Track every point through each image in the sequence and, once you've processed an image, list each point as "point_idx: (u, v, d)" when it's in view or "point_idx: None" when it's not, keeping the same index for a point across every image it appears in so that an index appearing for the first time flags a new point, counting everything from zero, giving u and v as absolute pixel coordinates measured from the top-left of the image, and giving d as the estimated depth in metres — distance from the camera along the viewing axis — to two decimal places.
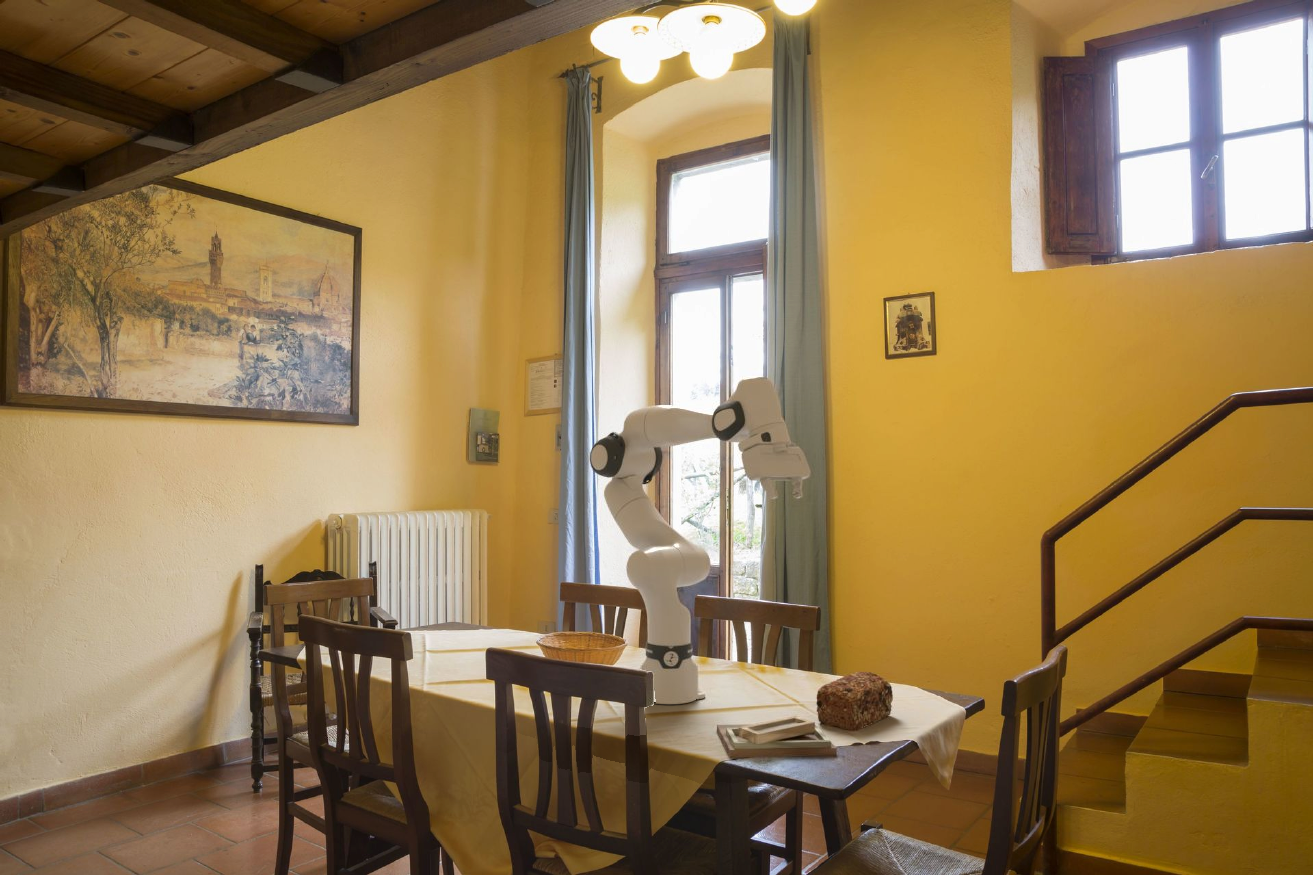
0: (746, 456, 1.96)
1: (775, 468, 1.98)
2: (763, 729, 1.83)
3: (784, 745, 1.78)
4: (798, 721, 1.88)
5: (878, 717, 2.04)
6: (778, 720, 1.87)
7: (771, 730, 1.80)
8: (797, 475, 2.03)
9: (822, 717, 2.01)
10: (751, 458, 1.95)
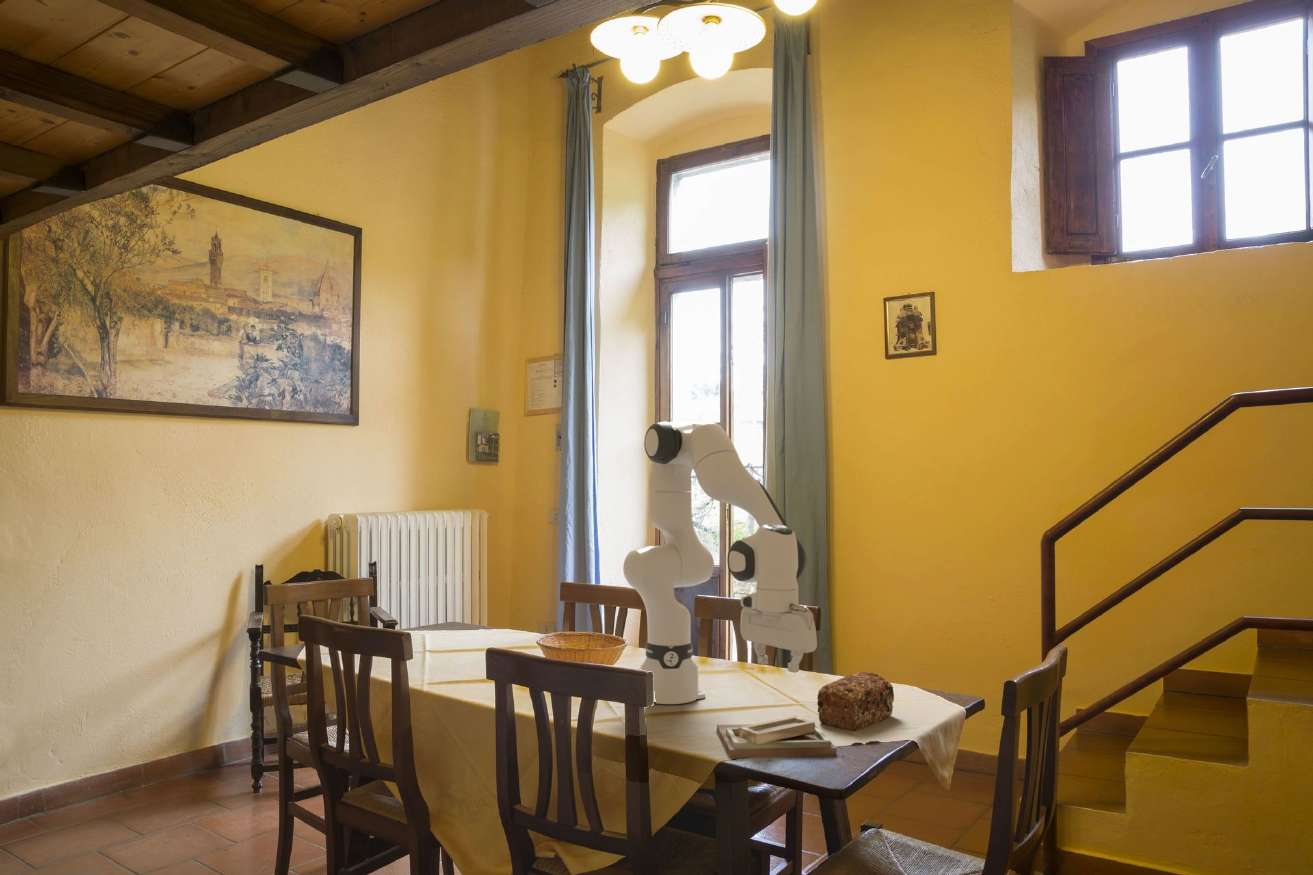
0: None
1: (760, 635, 1.86)
2: (763, 729, 1.83)
3: (784, 745, 1.78)
4: (798, 721, 1.88)
5: (879, 718, 2.04)
6: (778, 720, 1.87)
7: (771, 730, 1.80)
8: (785, 648, 1.80)
9: (823, 717, 2.01)
10: None
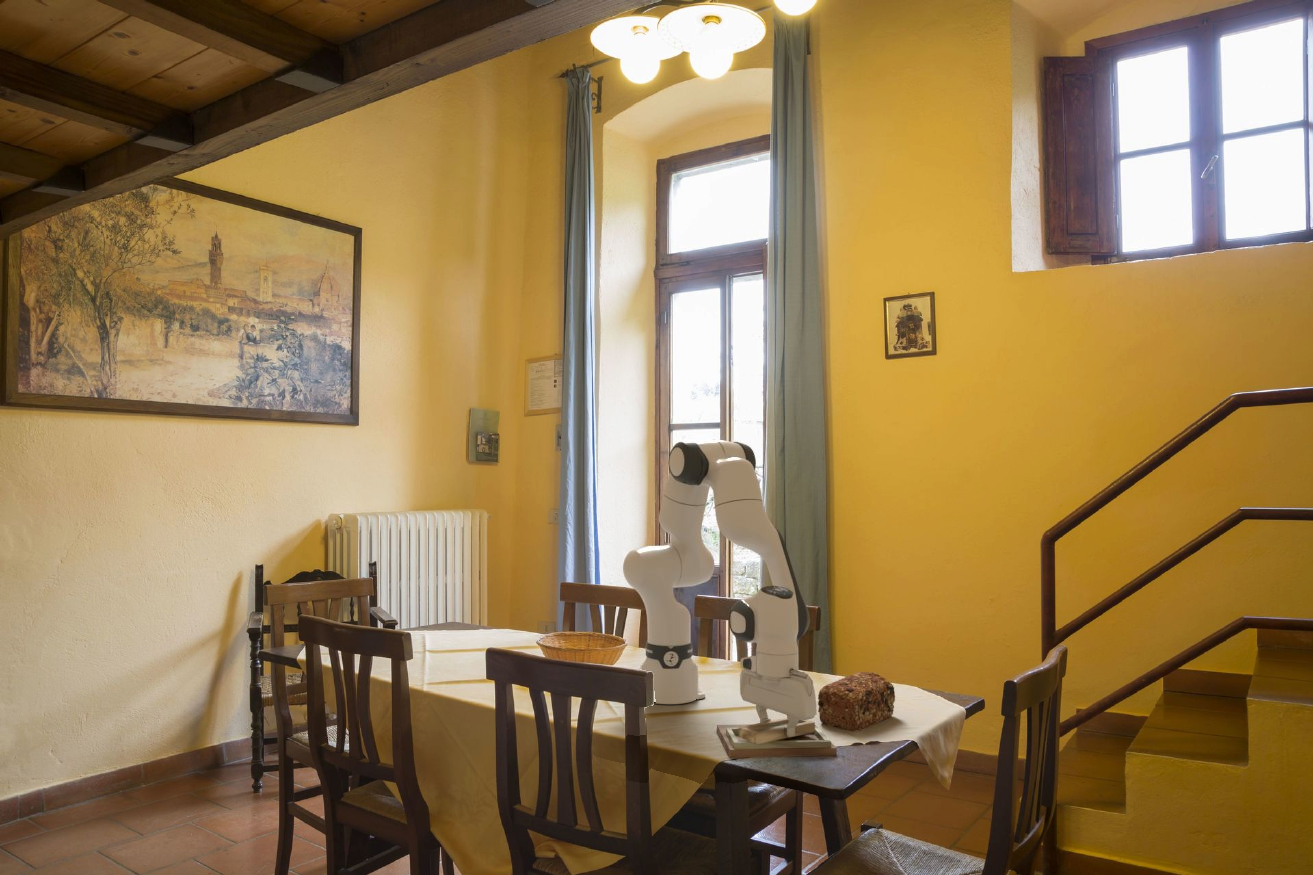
0: None
1: (759, 698, 1.86)
2: (763, 729, 1.83)
3: (784, 745, 1.78)
4: (798, 721, 1.88)
5: (880, 718, 2.04)
6: (778, 720, 1.87)
7: (771, 730, 1.80)
8: (785, 713, 1.79)
9: (823, 717, 2.01)
10: None
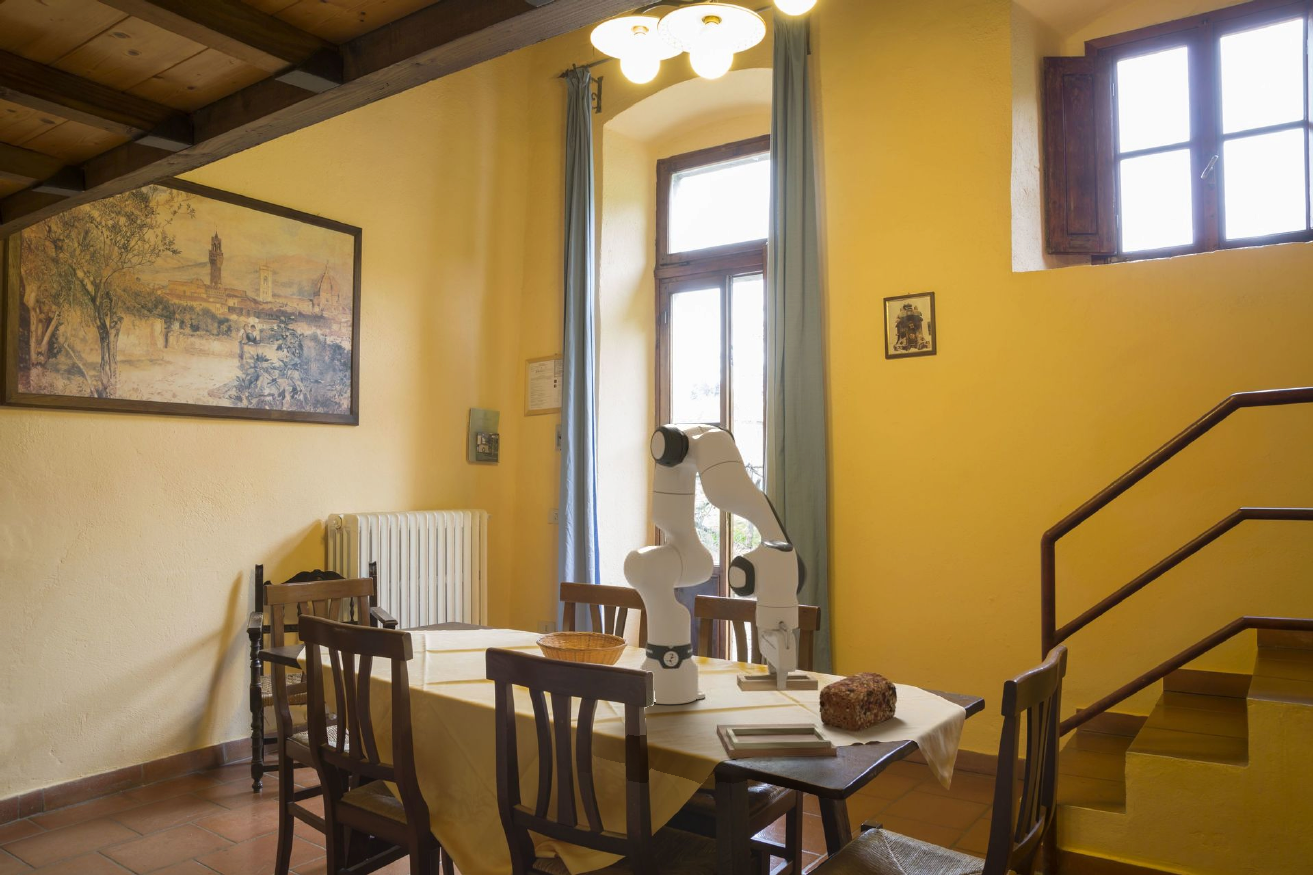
0: None
1: (765, 650, 1.88)
2: None
3: (784, 745, 1.78)
4: (807, 679, 1.85)
5: (882, 718, 2.03)
6: None
7: (761, 680, 1.81)
8: (773, 665, 1.80)
9: (825, 717, 2.01)
10: None
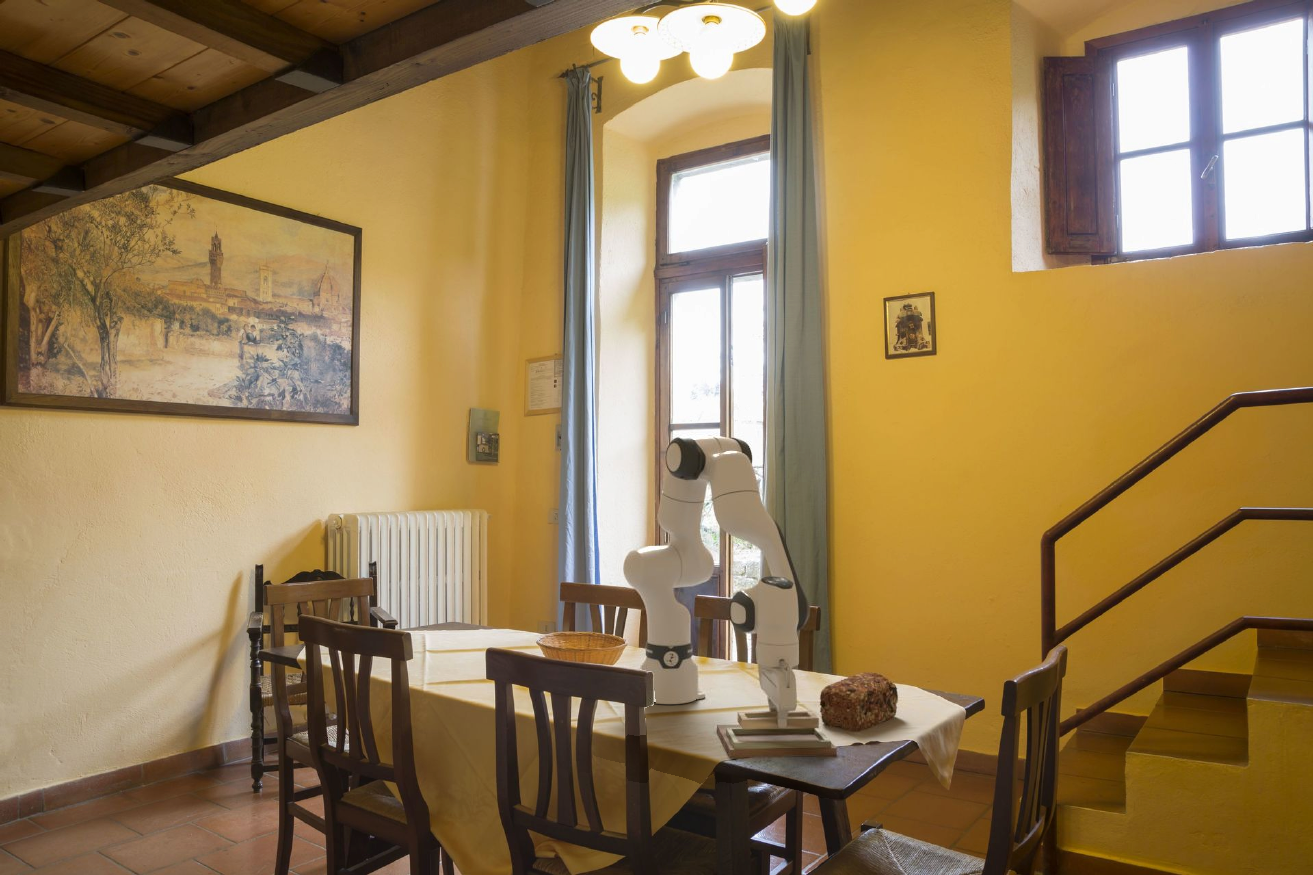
0: None
1: (765, 687, 1.87)
2: (763, 717, 1.85)
3: (784, 745, 1.78)
4: (808, 716, 1.85)
5: (883, 718, 2.03)
6: None
7: (762, 718, 1.81)
8: (774, 703, 1.80)
9: (825, 717, 2.01)
10: None
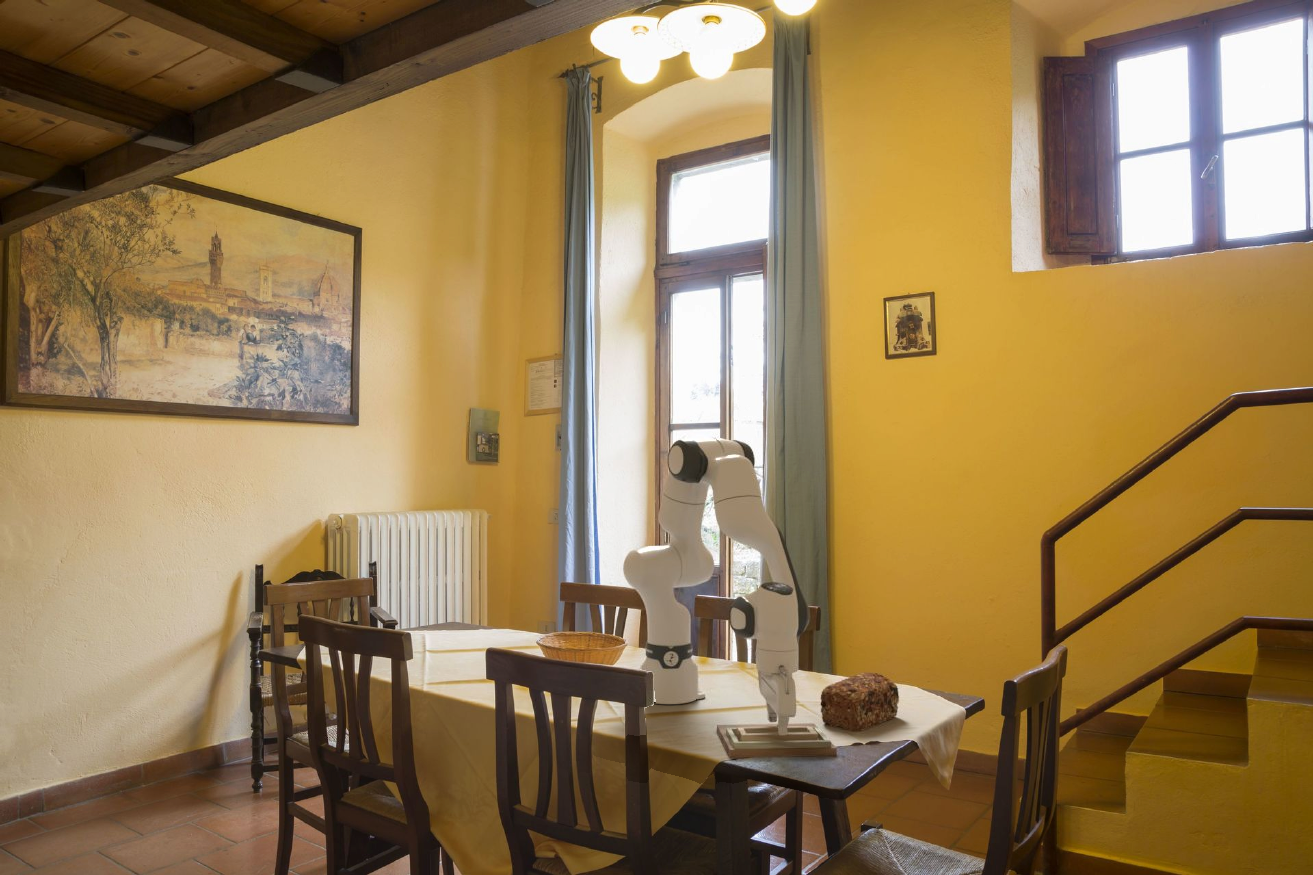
0: None
1: (765, 692, 1.87)
2: (762, 732, 1.85)
3: (784, 745, 1.78)
4: (807, 731, 1.85)
5: (883, 719, 2.03)
6: None
7: (761, 734, 1.81)
8: (773, 709, 1.80)
9: (826, 717, 2.01)
10: None
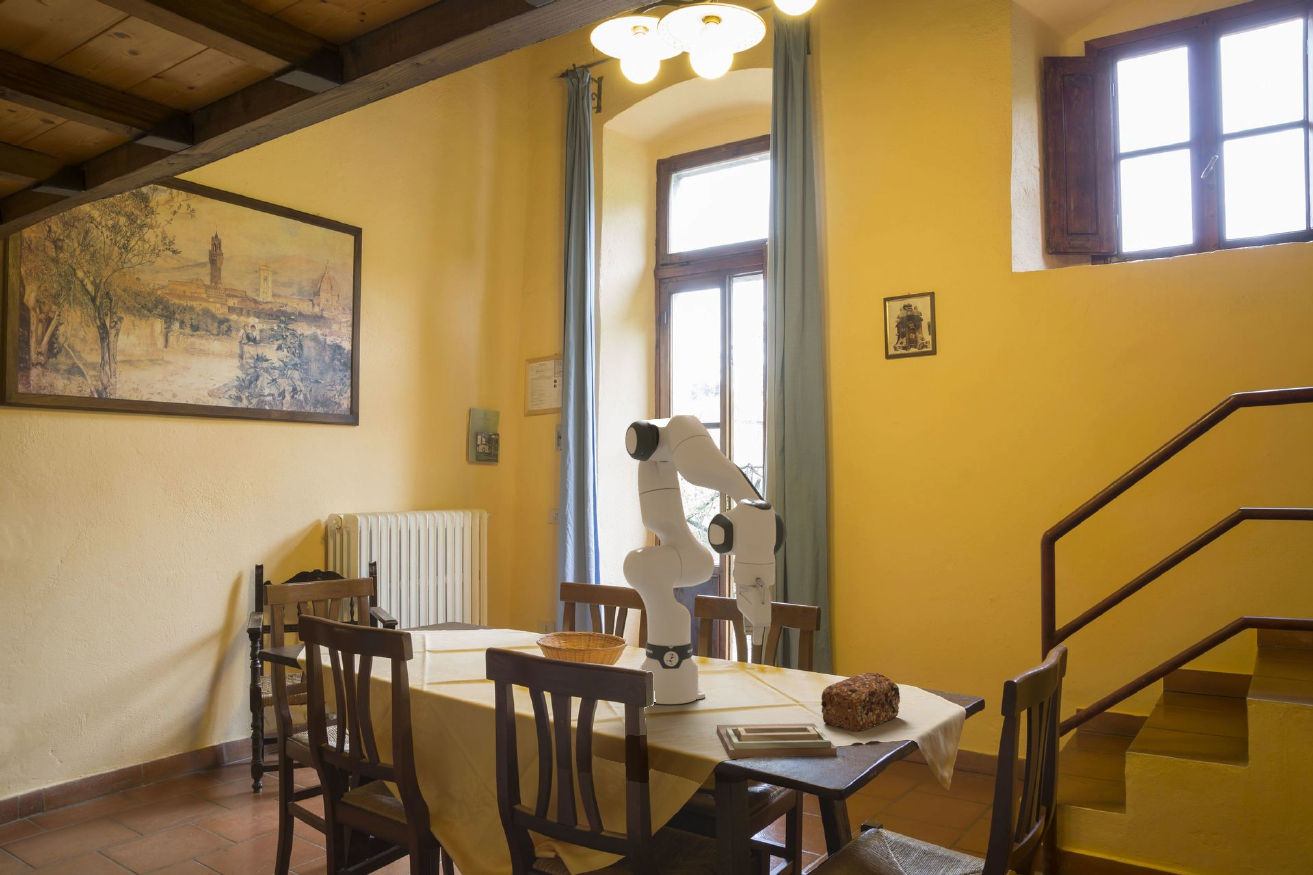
0: None
1: (742, 606, 1.92)
2: (762, 732, 1.85)
3: (784, 745, 1.78)
4: (807, 731, 1.85)
5: (884, 719, 2.03)
6: (786, 727, 1.86)
7: (761, 734, 1.81)
8: (749, 620, 1.84)
9: (827, 717, 2.01)
10: None
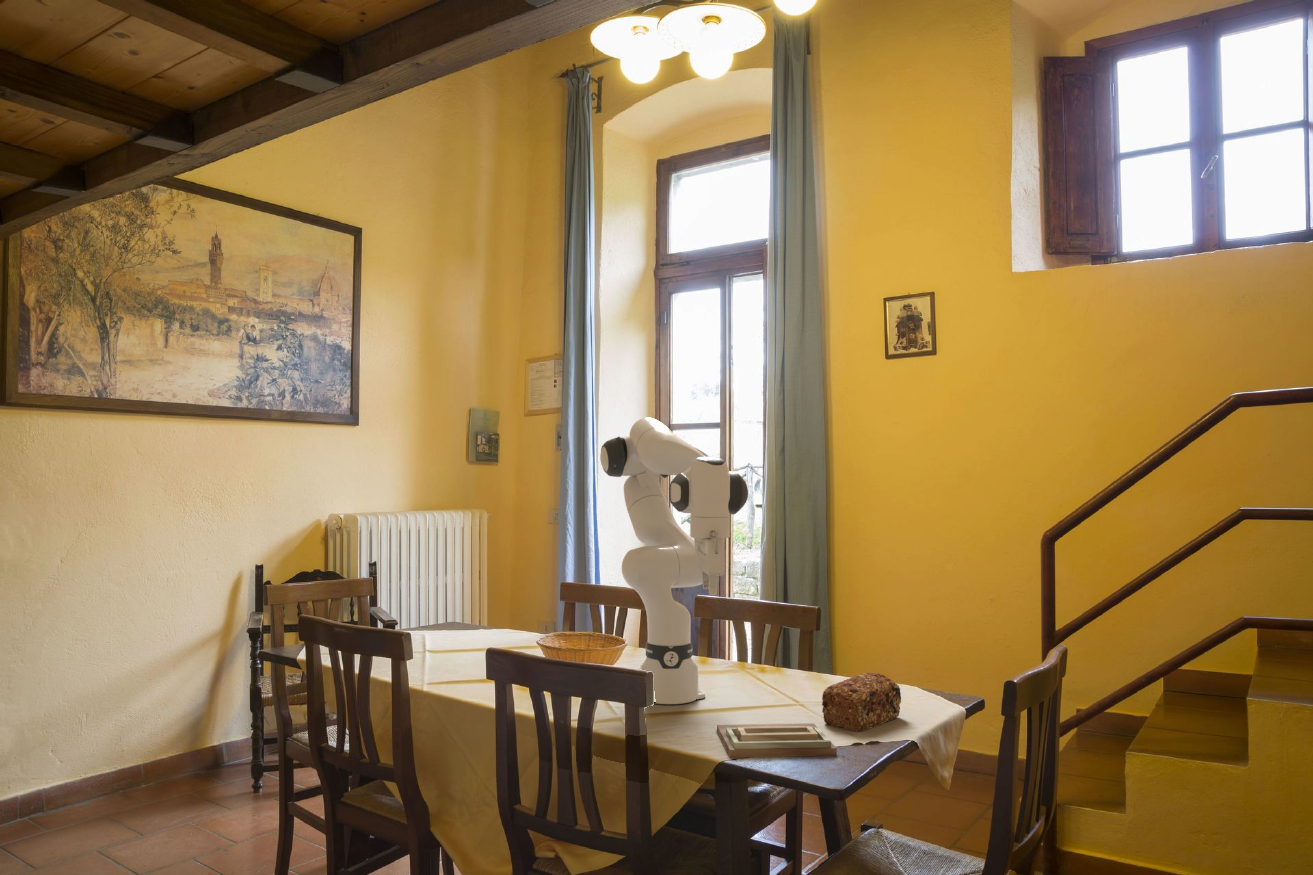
0: None
1: (699, 561, 1.97)
2: (762, 732, 1.85)
3: (784, 745, 1.78)
4: (807, 731, 1.85)
5: (885, 719, 2.03)
6: (786, 727, 1.86)
7: (761, 734, 1.81)
8: (705, 572, 1.90)
9: (827, 718, 2.01)
10: None
